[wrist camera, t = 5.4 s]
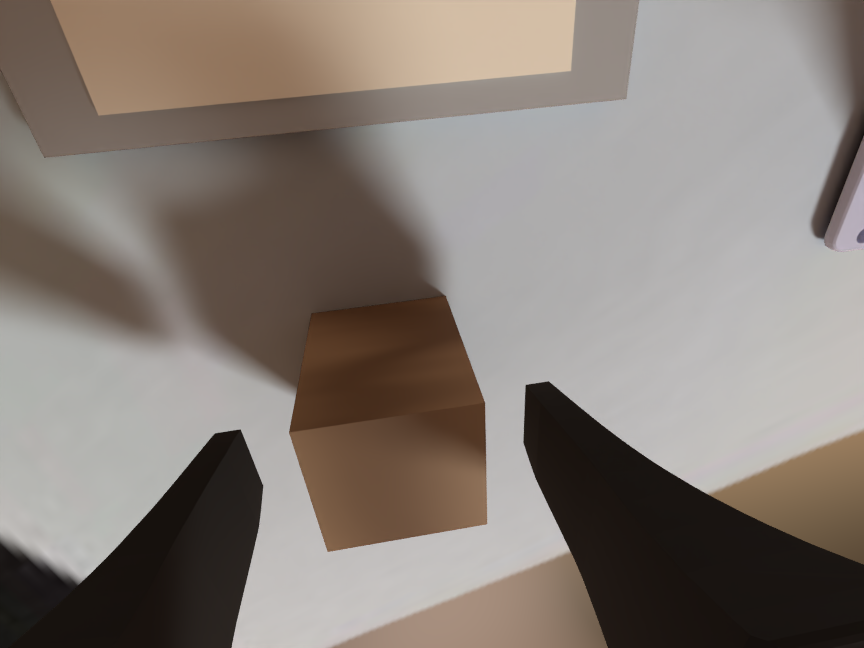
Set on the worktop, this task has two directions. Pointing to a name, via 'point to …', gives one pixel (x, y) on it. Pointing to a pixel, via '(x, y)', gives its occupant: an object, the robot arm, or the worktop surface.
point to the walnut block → (390, 424)
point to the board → (297, 64)
